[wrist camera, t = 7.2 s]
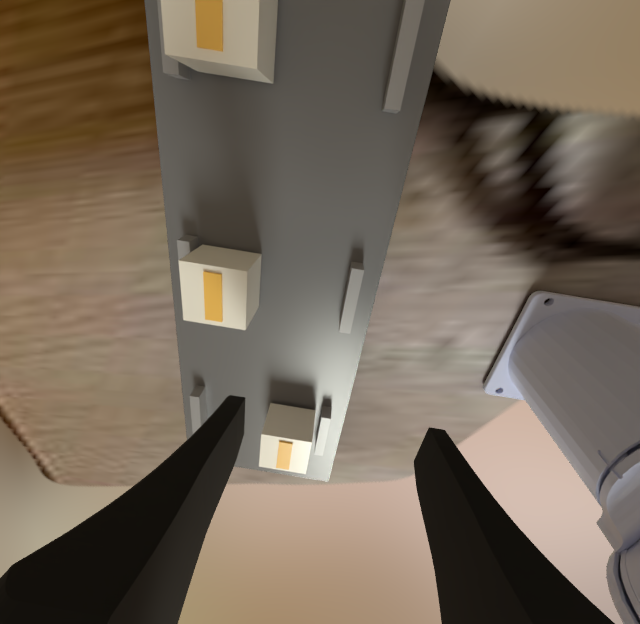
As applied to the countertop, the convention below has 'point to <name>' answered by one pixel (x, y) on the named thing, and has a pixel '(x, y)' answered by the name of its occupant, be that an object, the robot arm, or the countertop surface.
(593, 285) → the countertop surface
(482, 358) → the countertop surface
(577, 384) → the robot arm
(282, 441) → the switch
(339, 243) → the power strip
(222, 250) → the switch mid
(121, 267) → the countertop surface
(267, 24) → the switch
